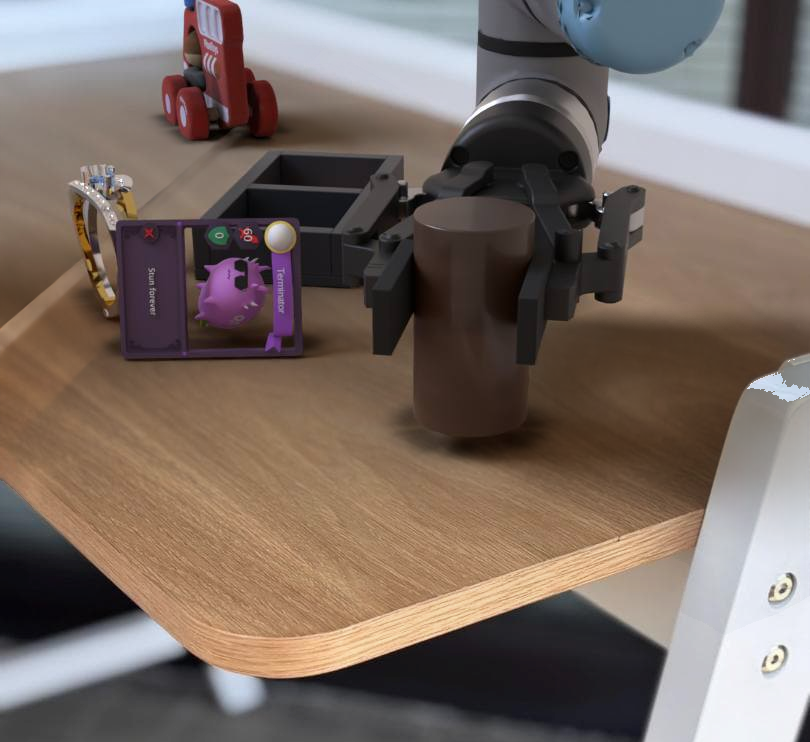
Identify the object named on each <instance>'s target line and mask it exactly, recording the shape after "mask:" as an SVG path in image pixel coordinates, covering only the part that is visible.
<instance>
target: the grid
mask: <svg viewBox="0 0 810 742" xmlns="http://www.w3.org/2000/svg"><path fill="white" fill-rule="evenodd" d="M379 172H385V173H389V174H391V175H394V176H395V178H396V180H397V181H398V180H405V156H404V155H397V154H377V153H376V154H375V153H353V152H352V153H350V152H347V153H346V152H331V151H330V152H329V151H307V150H306V151H305V150H279V149H278V150H277V149H269V150H268V151H267V152H266V153H265V154H264V155H263V156H262V157H261V158H260V159H258V161H256V163H255V164H254V165H252V167H251V168H250V169H249V170H247V172H246V173H244V174H243V175H242V177H241V178H239V179H238V180H237V181H236V182H235V183H234V184H233V185H232V186H231V187H230V188H229V189H228V190H227V191H226V192H225V193H224V194H223V195H222V196H221V197H220V198H219V199H218V200H217V201H216V202H215V203H214V204H213V205H212V206H211V207H209V208H208V209H207V211H205V212H204V213H203V214H202V216H200V217H199V219H242V218H296V219H298V220H299V222H300V254H301V286H311V287H327V288H330V287H331V288H347V289H349V288H350V287H347V286H346V285H344V284H343V275H342V232H341V231H342V228H343V227H344V226H345V224H346V223H347V222H348V220H349V219H350V218H351V217H352V215H353V214H354V213H355V211H356V210H357V209H358V208H359V206H360V205H361V204H362V202H363V201H364V200H365V199H366V197H367V196H368V195H369V193H370V176H371V175H374V174H377V173H379ZM230 228H231V230H232V231H233V233H234V232H235V230H236V228H237V227H230ZM259 228H260V229H261V231H262V233H263V234H264V236H265V231H266V229H267V228H268V227H259ZM207 229H208V228H191V238H192V251H193V253H192V254H193V266H194V278H195V280H204V281H205V280H206V281H207V280H208V278H209V276H210V272H209V271H208V270H207V269H206V268H205V267H204V266H205V265H217V264H219V263H220V262H222V261H224V260H226V259H229V258H240V259H245V258H247V257H249V258H248V261H252V260H254V259H256V258H258V259H257V260H256V262H255V264H256V263H259V265H258V266H268V267H270V268H271V269H270V270H269V269H267V270H263V271H261V272H259V273H260V275H261V277H262V279H263V282H264V284H273V270H272V251H271V250H270V249H269V248H268V246H267V245H266V243H265V237H264V236H263V238H262V240H261V242H260V244H259V246H258V248H257V249H244V250H241V249H240V247H239V246H238V244H237V243H236V241H235V239H233V241H232V243H231V245H230V247H229V249H228V250H212V249H211V248H210V246H209V244H208V243H207V241H206V239H205V238H204V234H205V232H206V230H207ZM290 256H291V272H292V249H291V250H290ZM292 286H293V277H292Z"/></svg>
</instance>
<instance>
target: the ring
mask: <svg viewBox="0 0 810 742" xmlns="http://www.w3.org/2000/svg"><path fill="white" fill-rule="evenodd" d="M115 170H116V167H115V166H114V165H107V164H106V163H104V164H99V165H98V164H95V165H94V164H93V165H89V166H88V165H83V166H82V167H79V171H80V176H81V181H80V180H78V179H74V180H72V181H70V182H67V183H66V185H67V186H68V187H69V189H68V192H67V200H68V206H69V211H70V215H71V219H72V224H73V228H74V231H75V234H76V239H77V243H78V246H79V249H80V252H81V256H82V259H83V263H84V266H85V268H86V272H87V274H88V277H89V281H90V283H91V285H92V288H93V290H94V291H93V292H94V293H95V296H96V298H97V300H98V302H99V303H100V306H101V308H102V311H103V315H104V316H105V318H106V319H109V318H116V317H120V312H119V290H118V268H117V246H116V222H117V221H119V220H118V217H117V214H116V213H115V211H114V209H113V207H112V206H111V204H110V203H109V201H114V200H116V203H115V205H116V206H117V208H118V211H119V213H120V215H121V218H122V220H139V217H138V211H137V206H136V202H135V198H134V196H133V194H132V191H131V190H132V188H133V184H134V183H133V182H134V181H133V179H132V178H131V177H130V175H129V176H128V175H127V174H116V171H115ZM116 186H117V187H119V189H117V190H116ZM84 203H85V205H84ZM98 214H99V215H100V216H101V218H102V220H103V222H104V224H105V226H106V228H107V231H108V234H109V237H110V240H111V245H112V249H113V254H114V259H115V269H116V292H114V291H113V288H112V286H111V284H110V281H109V277H108V275H107V272H106V269H105V265H104V261H103V258H102V257H103V256H102V252H101V247H100V242H99V241H100V240H99V234H98V233H99V232H98ZM84 216H85V217H84Z"/></svg>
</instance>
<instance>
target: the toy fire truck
mask: <svg viewBox="0 0 810 742" xmlns="http://www.w3.org/2000/svg"><path fill="white" fill-rule="evenodd" d="M183 4H184V6H185V8H184V10H183V32H182V33H183V35H182V58H183V59H182V60H183V67H184V69H183V71H182V73H183V74H182V75H181V74H171V75H166V76H164V78H163V79H162V82H161V99H162V105H163V106H162V107H163V111H164V116H165V119H166V120H167V121H169V123H171V124H172V125H174V126H178V128H179V133H180V134H181V135H182V136H183V137H184V138H186V139H187V140H189V141H200V140H207V139H209V135H210V129H211V127H210V126H211V125H210V122H216V124H217V126H218V128H219V129H221V130H225V129H226V130H227V129H232V128H237V127H241V126H245V125H246V124H247V126H248V128H249V131H250V132H251V134H252V136H254V137H257V138H261V137H271V136H273V135H274V134H275V133H276V131H277V129H278V125H279V107H278V102H277V97H276V93H275V90H274V88H273V86H272V84H271V82H269V81H268V80H267V79H259V80H258V79H257V80H256V77H255V74H254V72H253V71H252V69H251V68H249V67H245V58H244V57H245V56H244V47H243V46H244V41H245V40H244V38H245V35H244V25H243V23H244V22H243V14H242V10H241V7H240V6H239V4H238V3H236V2H234V1H231V0H183Z"/></svg>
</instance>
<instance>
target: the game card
mask: <svg viewBox="0 0 810 742" xmlns="http://www.w3.org/2000/svg"><path fill="white" fill-rule="evenodd" d="M230 227H237V228H236V230H235V232H234V233H233V231H232V230H231V228H230ZM259 227H268V228H267V229H266V231H265V236H264V234H263V233H262V231H261V229H260V228H259ZM192 228H208V229H207V230H206V232H205V234H204V238H205V239H206V241H207V243H208V244H209V246H210V248H211V249H212V250H228V249H229V247H230V245H231V243H232V241H233V239H235V241H236V243H237V244H238V246H239V247H240V249H241V250H244V249H257V248H258V246H259V244H260V242H261V240H262V238H263V236H264V237H265V243H266V245H267V246H268V248H269V249H270V250H271V251H272V270H273V283H272V285H273V289H272V290H273V292H272V291H271V289H269V288H268V287H266V285H265V283H264V282H263V279H262V277H261V275H260V273H259V272H261V271H263V270H267V269H269V270H270V269H271V268H270V267H268V266H258V265H259V263H256V264H255V262H256V260H257V259H258V258H256V259H254V260H252V261H248V258H249V257H247V258H245V259H240V258H229V259H226V260H224V261H222V262H220V263H219V264H217V265H205V266H204V267H205V268H206V269H207V270H208V271H209V272H210V276H209V278H208V280H206V282H199V283H196V284H195V287H196V288H197V289H199V290H200V293H199V297H198V304H197V305H198V310H199V313H197V315H195V316H194V319H195V320H199V325H200V326H201V327H205V328H207V327H208V326H213V327H216V328H218V329H233V328H238V327H241V326H244V325H246V324H247V323H249V322H251V321H252V320H253V319H254V318H255V317H256V316H258V314H259V313H260V311H261V310H262V308H263V306H264V305H265V301H266V294H272V293H273V303H272V304H273V314H272V315H273V317H272V318H273V323H272V325H273V332H269V334H268V336H267V339H266V345H265V347H243V348H240V347H239V348H238V347H237V348H191V347H190V337H189V314H188V313H189V312H188V311H189V310H188V289H187V288H188V286H187V285H188V284H187V263H186V236H185V229H192ZM116 246H117V268H118V290H119V312H120V316H119V329H120V330H119V331H120V332H119V333H120V352H121V356H122V358H124V359H169V358H170V359H171V358H173V359H174V358H231V357H236V358H237V357H285V356H286V357H287V356H288V357H291V356H292V357H293V356H294V357H295V356H301V355H302V354H303V352H304V337H303V336H304V334H303V333H304V331H303V299H302V298H303V295H302V285H301V254H300V222H299V220H298V219H296V218H242V219H200V218H184V219H183V218H182V219H181V218H179V219H178V218H177V219H138V220H123V219H119V220H118V221H117V222H116ZM291 249H292V272H291V256H290V250H291ZM292 277H293V285H292ZM292 335H293V344H294V345H293V347H282V339H283V337H291V336H292Z"/></svg>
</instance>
